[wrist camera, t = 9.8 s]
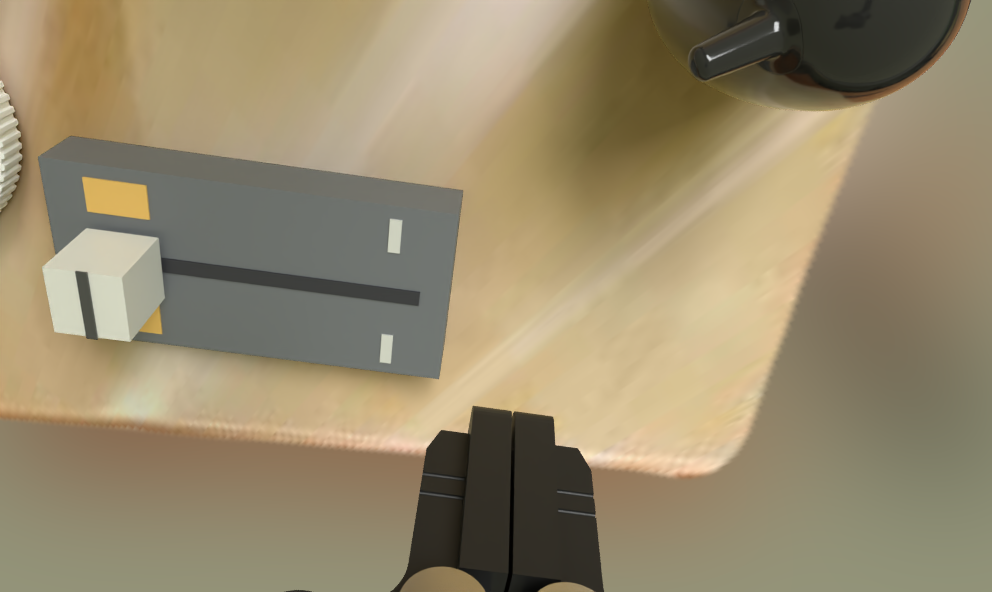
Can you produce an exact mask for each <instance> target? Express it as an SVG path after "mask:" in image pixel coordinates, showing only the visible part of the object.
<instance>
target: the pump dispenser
mask: <svg viewBox="0 0 992 592" xmlns="http://www.w3.org/2000/svg"><path fill="white" fill-rule="evenodd" d="M647 3H648V8H649V11H650V15H651V18H652V21H653V23H654V26H655V28H656V30H657V32H658V34H659V36H660V38H661V40H662V41H663V43H664V44H665V46H666V47H667V49H668V50H669V51H670V53H671V54H672V55H673V57H674V58H675V59H676V60H677V61H678V62H679V63H680V64H681V65H682V66H683V67H684V68H685V69H686V70H687V71H688V72H689V73H691V74H692V76H693V77H694V78H695V79H697V80H698V81H701V82H703V83H705V84H707V85H708V86H710V87H712V88H714V89H716V90H718V91H720V92H722V93H724V94H726V95H728V96H731V97H733V98H736V99H738V100H741V101H744V102H747V103H751V104H755V105H759V106H763V107H769V108H775V109H783V110H794V111H832V110H840V109H846V108H851V107H856V106H860V105H864V104H867V103H870V102H873V101H876V100H879V99H881V98H884V97H886V96H888V95H891V94H893V93H894V92H896V91H898V90H900V89H902V88H904V87H905V86H907V85H909V84H910V83H912V82H913V81H914V80H916V79H917V78H919V77H920V76H921V75H923V74H924V73H925V72H926V71H927V70H928V69H930V68H931V67H932V66H933V65H934V64H935V63H936V62H937V61H938V60H939V59H940V57H941V56H942V55H943V54H944V53H945V52H946V50H947V49H948V48H949V46H950V45H951V43H952V42H953V40H954V39H955V37H956V36H957V34H958V32H959V30H960V28H961V26H962V24H963V22H964V20H965V17H966V15H967V12H968V9H969V6H970V3H971V0H647Z"/></svg>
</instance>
